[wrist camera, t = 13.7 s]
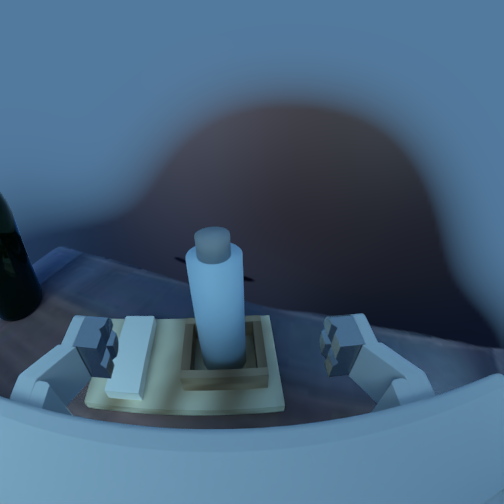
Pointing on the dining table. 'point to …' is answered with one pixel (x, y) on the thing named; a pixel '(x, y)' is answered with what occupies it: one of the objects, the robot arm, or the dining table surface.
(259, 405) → the jig
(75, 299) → the dining table surface
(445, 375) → the dining table surface
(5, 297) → the green wine bottle
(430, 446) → the robot arm
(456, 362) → the dining table surface
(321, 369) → the dining table surface
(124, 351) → the white rectangular bar
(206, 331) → the tapered blue cylinder
